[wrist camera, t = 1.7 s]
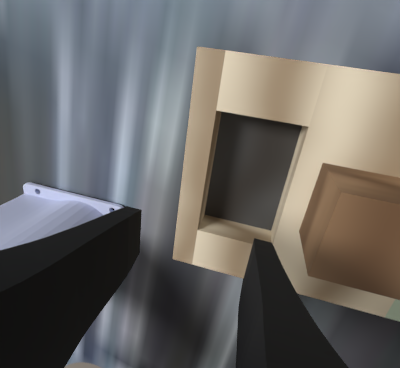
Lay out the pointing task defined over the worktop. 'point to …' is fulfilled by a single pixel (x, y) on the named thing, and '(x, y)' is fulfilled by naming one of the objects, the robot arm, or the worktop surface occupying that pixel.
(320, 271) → the walnut block
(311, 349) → the robot arm
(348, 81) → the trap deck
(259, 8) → the worktop surface
